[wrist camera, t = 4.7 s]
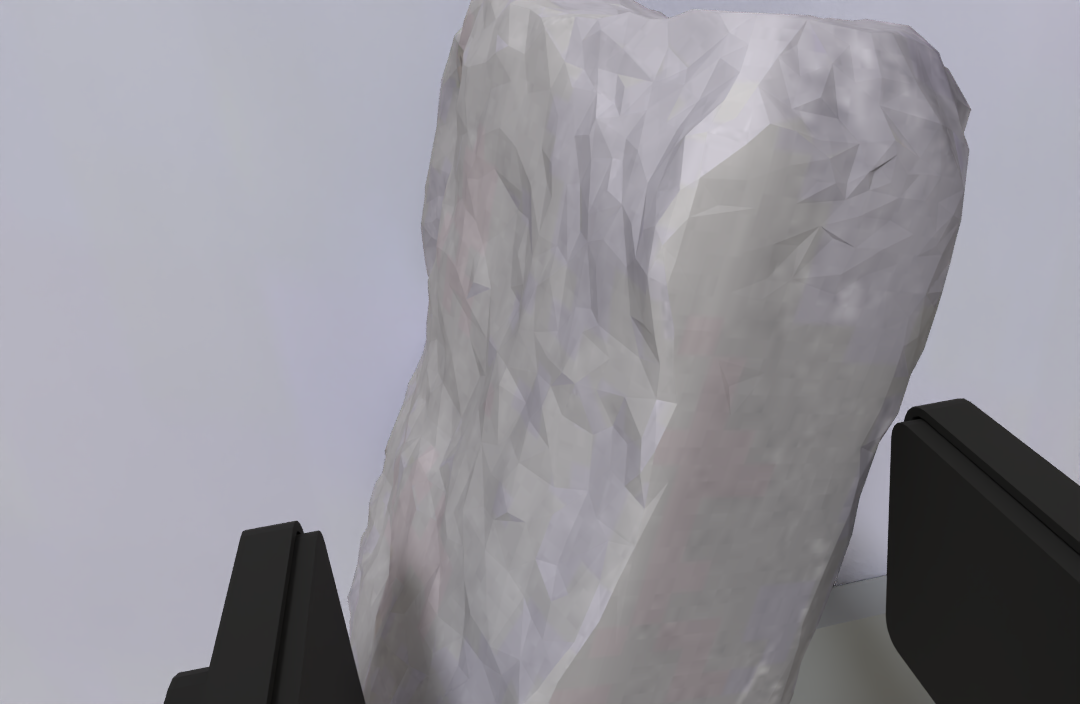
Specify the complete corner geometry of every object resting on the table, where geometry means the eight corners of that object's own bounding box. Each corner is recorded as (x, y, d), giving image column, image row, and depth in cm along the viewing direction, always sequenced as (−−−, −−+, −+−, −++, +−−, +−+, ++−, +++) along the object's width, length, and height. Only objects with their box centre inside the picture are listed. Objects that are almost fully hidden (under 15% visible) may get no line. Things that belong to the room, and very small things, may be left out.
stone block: (559, 569, 21) (718, 1044, 12) (337, 547, 20) (325, 1057, 11) (721, 7, 17) (1150, 76, 8) (455, -64, 16) (596, -80, 7)
